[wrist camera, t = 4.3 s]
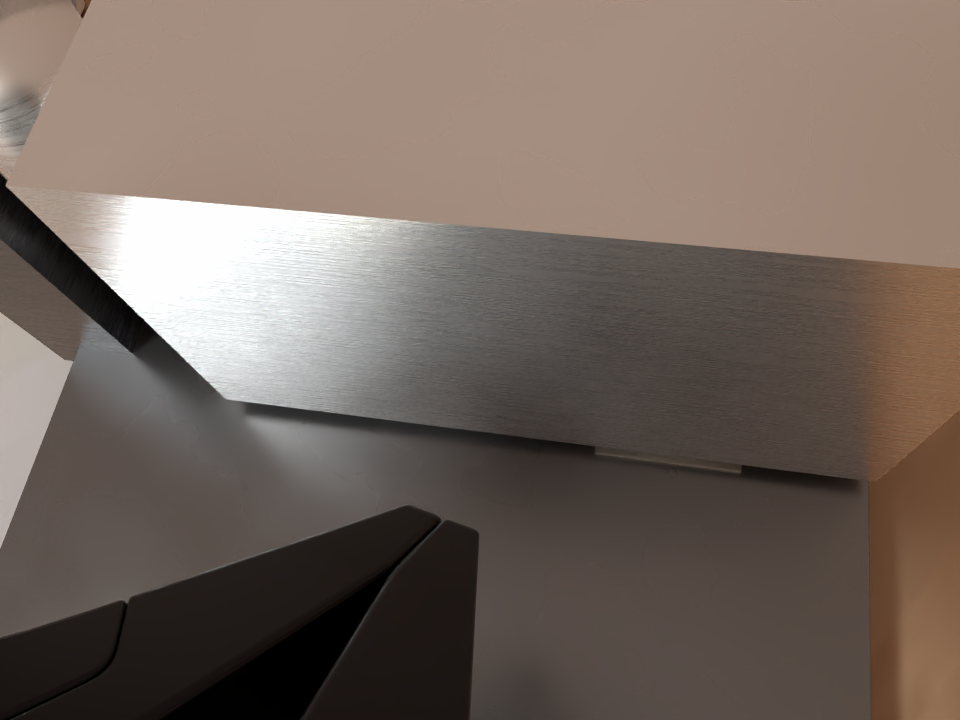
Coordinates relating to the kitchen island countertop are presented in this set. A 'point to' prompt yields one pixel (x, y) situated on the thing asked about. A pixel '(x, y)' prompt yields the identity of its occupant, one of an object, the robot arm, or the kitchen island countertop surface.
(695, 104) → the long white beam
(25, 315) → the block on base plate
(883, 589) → the kitchen island countertop surface
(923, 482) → the kitchen island countertop surface
